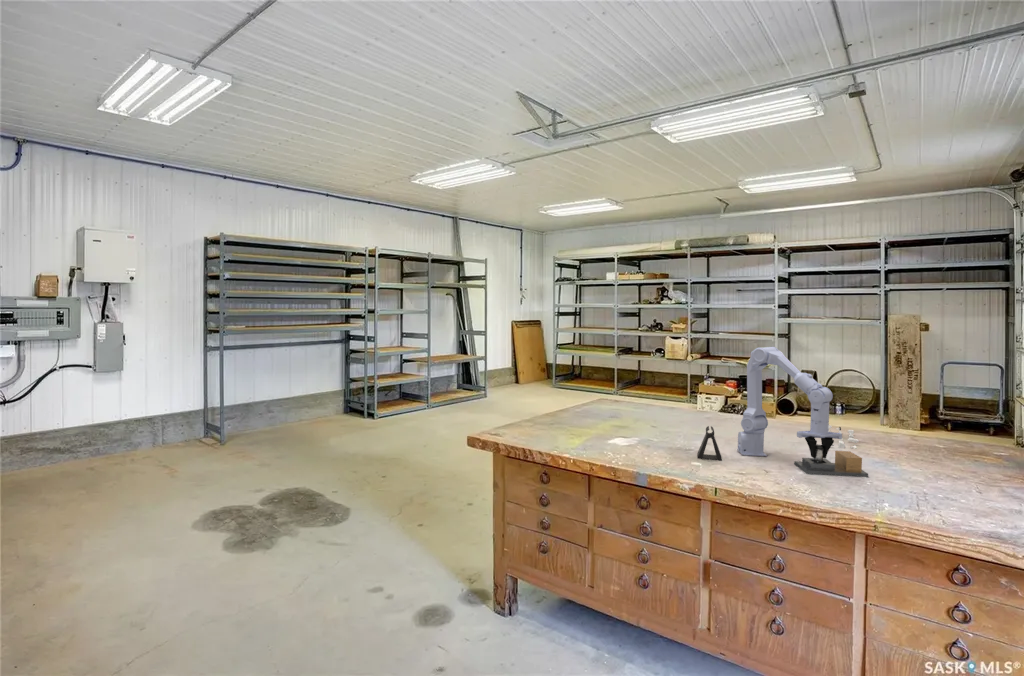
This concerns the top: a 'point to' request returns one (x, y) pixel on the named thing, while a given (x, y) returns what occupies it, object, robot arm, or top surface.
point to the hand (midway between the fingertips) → (818, 457)
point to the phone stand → (703, 446)
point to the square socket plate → (834, 465)
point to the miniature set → (851, 439)
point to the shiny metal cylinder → (819, 454)
